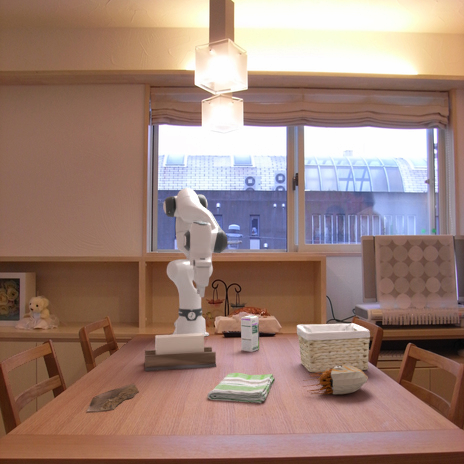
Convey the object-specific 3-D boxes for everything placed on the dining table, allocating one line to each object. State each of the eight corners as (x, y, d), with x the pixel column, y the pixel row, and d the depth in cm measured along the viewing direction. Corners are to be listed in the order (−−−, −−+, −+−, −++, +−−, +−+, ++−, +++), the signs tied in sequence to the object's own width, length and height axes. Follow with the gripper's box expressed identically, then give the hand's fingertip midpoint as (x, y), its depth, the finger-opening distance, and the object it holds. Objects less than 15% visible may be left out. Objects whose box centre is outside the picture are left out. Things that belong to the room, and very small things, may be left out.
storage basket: (306, 374, 150) (305, 331, 151) (295, 362, 167) (295, 323, 167) (372, 372, 152) (371, 330, 153) (355, 360, 169) (355, 322, 169)
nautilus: (309, 404, 122) (293, 390, 137) (379, 395, 126) (357, 382, 141) (306, 375, 123) (291, 365, 138) (376, 367, 126) (354, 357, 141)
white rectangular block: (155, 361, 164) (155, 335, 165) (202, 358, 169) (201, 333, 169) (156, 365, 159) (156, 338, 160) (204, 361, 164) (204, 335, 164)
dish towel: (206, 401, 126) (206, 388, 126) (225, 378, 148) (225, 367, 148) (264, 405, 122) (264, 393, 122) (275, 381, 144) (275, 370, 144)
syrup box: (252, 352, 183) (251, 317, 184) (240, 350, 187) (240, 316, 187) (259, 349, 188) (259, 316, 188) (248, 347, 191) (248, 314, 192)
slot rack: (144, 362, 167) (144, 349, 167) (211, 358, 172) (211, 346, 173) (145, 371, 155) (145, 357, 156) (216, 366, 161) (216, 353, 161)
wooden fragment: (105, 416, 114) (105, 412, 114) (70, 412, 117) (70, 408, 117) (152, 386, 139) (152, 383, 139) (122, 384, 142) (122, 380, 142)
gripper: (190, 259, 183) (190, 292, 183) (195, 262, 163) (195, 299, 163) (205, 259, 184) (204, 292, 184) (212, 262, 164) (211, 298, 164)
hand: (200, 295), depth 173 cm, fingers open, 8 cm apart
